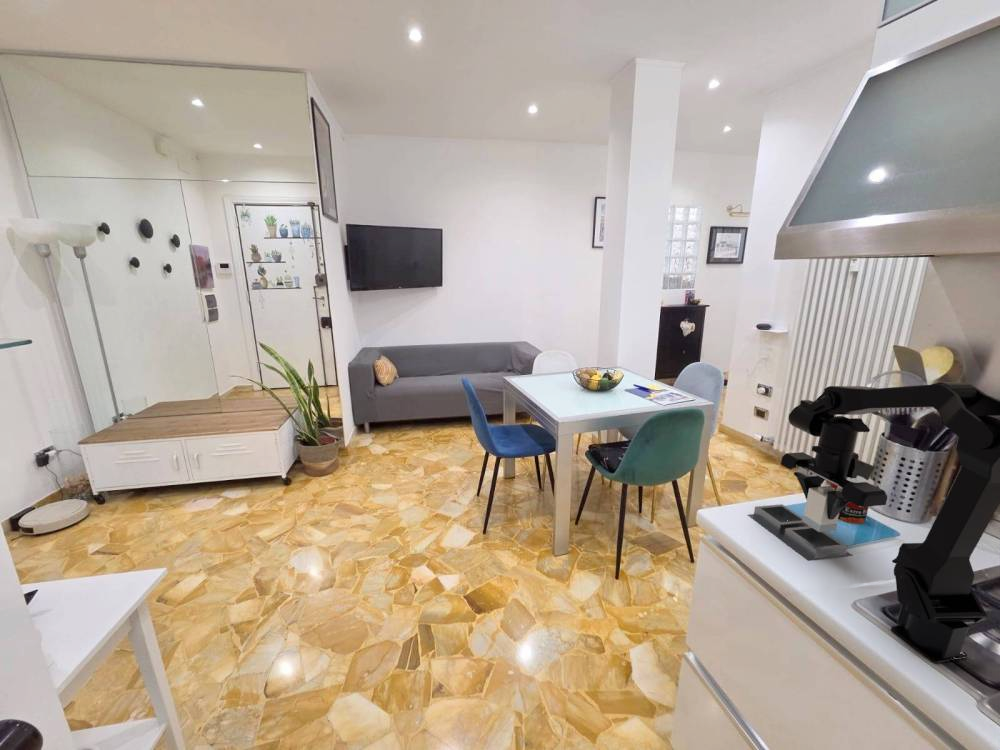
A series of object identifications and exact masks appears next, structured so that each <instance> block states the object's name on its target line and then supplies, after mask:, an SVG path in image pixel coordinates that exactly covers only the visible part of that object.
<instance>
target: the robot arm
mask: <svg viewBox="0 0 1000 750" xmlns="http://www.w3.org/2000/svg"><path fill="white" fill-rule="evenodd" d="M915 408H916V409H918V408H919V409H920V408H933V409H935V410H936V411H937V412H938V415H939V416H940V418H941V421H942V423H943V425H944V426H945V427H946V428H947V429H948V430H950V431H951V433H953V434H954V435H955V436H957V441H956V446H955V450H956V454H957V457H958V459H959V463H960V469H959V471H958V473H957V475H956V477H955V478H954V481H953V483H952V485H951V486H950V489H949V491H948V493H947V495H946V497H945V499H944V501H943V503H942V505H941V507H940V509H939V511H938V513H937V515H936V517H935V519H934V521H933V523H932V525H931V527H930V529H929V531H928V533H927V535H926V538H925V539H924V541H923V542H909V543H907V542H905V543H902V544H901V545H900V546H899V549H898V553H897V556H896V557H895V558H894V559H892V561H891V562H892V564H895V565H894V568H893V576H894V577H895V586H896V595H897V596H896V597H897V602H899V603H900V604H901V606H900V610H899V614H898V616H897V617H898V618H897V620H896V623H897V624H898V625H892V626H891V627H890V631H892V632H893V633H894V634H896V635H897V636H898V637H899V638H900V639H901V640H903V641H905V642H906V643H907V644H909V645H910V646H911V647H912V648H914V649H915V650H916V651H917V652H918V653H920V654H921V655H923V656H924V657H926V658H927V659H928V660H930V662H933V663H935V664H940V663H941V664H942V663H946V662H945V661H947V662H949V661H948V660H951V658H952V659H954V658H953V657H955V658H963V657H967V658H968V654H967V653H966V652H964V651H963V653H964V654H965V655H963V654H960V652H961V650H962V649H963V646H964V644H965V640H966V638H967V634H968V631H969V629H970V625H969V624H967V623H976V624H977V623H979V624H980V622H982V621H983V620H984V619H986V618H987V617H988V614H987V613H986V611H985V609H984V607H983V606H982V603H981V602H980V601H979V598H978V596H977V595H976V593H975V591H974V590H973V588H972V587H973V584H974V580H975V571H974V569H973V567H972V564H971V561H970V559H971V556H972V554H973V552H974V551H975V549H976V547H977V546H978V544H979V541H980V540H981V539H982V536H983V534H984V533H985V531H986V529H987V528H988V525H989V524H990V523H991V520H992V518H993V516H994V515H995V513H996V511H997V510H998V508H999V505H1000V399H997V398H995V397H993V396H990V395H989V394H986V393H985V392H984V391H982V390H980V389H979V388H977V387H976V386H974V385H972V384H969V383H968V382H962V381H961V382H953V381H952V382H951V381H949V382H948V381H947V382H946V381H945V382H942V381H940V382H935V383H932V384H921V385H920V384H919V385H907V386H906V385H904V386H894V387H881V388H880V387H879V388H876V387H871V386H870V387H869V386H862V385H845V386H844V385H843V386H842V385H833V386H832V385H829V386H827V387H825V388H823V391H822V393H821V395H819V396H818V397H817V398H816V399H815V400H814V401H812V400H810V399H801V400H800V401H799V404H798V405H797V406H795V407H794V408H793V409H792V410H791V412H790V413H789V414H788V421H789V424H790V425H791V426H792V427H794V428H796V429H798V430H801V431H802V432H804V433H807V434H809V435H811V436H812V437H816V438H818V443H817V445H812V446H811V452H814V453H815V456H812V455H810V454H808V453H806V452H803V451H802V452H788V453H787V452H786V453H784V454H783V455H782V457H781V460H780V465H781V466H782V467H785V468H786V469H788V470H794V469H796V468H797V471H795V472H793V476H795V477H796V479H797V481H798V483H799V485H800V487H801V490H802V492H803V495H804V498H805V500H806V501H807V496H808V491H809V488H816V487H822V484H823V483H824V482H825V481H827V482H829V483H830V484H831V483H833V484H835V485H837V486H838V487H837V489H836V491H828V492H827V516H828V519H830V520H831V519H834V518H835V517H836V516H837V515H838V514H839V512H840V511H841V510H842V509H843V508H844V507H845V506H846V505H847V504H848V503H849V502H852V503H854V504H856V505H857V506H861V507H868V506H869V507H878V506H886V504H887V502H888V501H887V500H888V493H886V491H885V490H884V489H882V488H880V487H878V486H876V485H875V484H874V485H871V484H869V483H867V482H860V483H854V482H851V481H848V480H847V478H849V477H850V478H857V476H860V477H863V478H865V479H866V480H869V478H870V479H871V476H872V474H873V472H875V469H876V466H875V465H872V464H870V463H867V462H865V461H864V460H861V459H859V453H856V452H855V447H856V446H855V445H856V443H857V438H858V433H869V432H870V431H871V429H870V428H869V426H868V425H867V424H865V422H864V421H863V419H862V418H861V417H860V418H859V417H858V418H852V417H851V418H849V417H846V416H847V415H848V416H849V415H850V416H851V415H853V416H854V415H855V416H857V415H858V416H859V415H861V416H862V415H868V414H871V413H876V412H879V411H881V410H885V409H915ZM836 415H837V416H836ZM843 415H845V416H843Z"/></svg>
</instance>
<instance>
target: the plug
mask: <svg viewBox="0 0 1000 750" xmlns="http://www.w3.org/2000/svg"><path fill="white" fill-rule="evenodd" d="M828 491H835V488H833V487H831V486H830V485H825V486H824V485H823V486H821V487H816V488H809V491H808V496H807V500H806V501H805V507H804V511H803V515H802V521H803V522H804V523H806V524H807V525H808V526H810V527H812V528H813V529H815V530H816V531H818V532H833V531H836V530H837V526H838V520H839V519H838V516H839V514H838V515H837V516H836V517H835V518H834V519H831V520H830V519H828V516H827V492H828Z"/></svg>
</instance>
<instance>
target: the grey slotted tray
mask: <svg viewBox="0 0 1000 750" xmlns="http://www.w3.org/2000/svg"><path fill="white" fill-rule="evenodd" d="M747 517H749V518H751V520H753V521H754V522H755V523H757V524H759V525H760V526H761V527H763V528H764V529H765V530H766V531H767V532H769V533H770V534H772V535H773V536H774V537H776V538H777V539H778V540H780V541H781V542H782V543H784V544H785V545H786V546H788V547H789V548H790V549H791V550H793V551H794V552H796V554H798V555H800V556H801V557H802V558H804V559H805V560H807V562H812V561H818V560H828V559H829V560H830V559H836V558H844V557H845V558H847V557H853V554H852V553H850V552H848V551H847V550H848V546H847V545H846V544H844V543H842V542H841V541H839V540H838V539H837V538H835V537H834V536H831V535H830V534H828V533H827V531H825V532H818V531H816V530H815V529H813V528H812V527H810V526H809V525H807V524H806V523H804V522H803V521H802V518H803V516H802V515H799V514H798V513H796V512H795V511H793V510H791V509H790V508H788V507H787V506H786V505H784V504H782V503H781V504H771V505H770V504H769V505H761V506H754V511H753V514H750V513H749V514H747ZM787 520H788V521H787Z"/></svg>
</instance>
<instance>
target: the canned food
mask: <svg viewBox="0 0 1000 750" xmlns="http://www.w3.org/2000/svg"><path fill="white" fill-rule="evenodd" d="M847 480H848V481H851V482H854V483H860V482H867V483H869V484H871V485H874V486H875V482H874V480H873V479H871V477H870V478H869V480H866V479H865V478H863V477H860V476H857V478H850V477H849V478H847ZM829 486H831V487H833V488H835V491H836V489H837V487H838V486H837V485H835V484H833V483H831V482H830V485H829ZM869 507H870V506H868V507H861V506H857V505H856V504H854V503H852V502H849V503H848V504H847V505H846V506H845V507H844V508H843V509H842V510H841V511H840V512H839V516H838V520H840V521H842V522H844V523H849V524H854V525H861V524H864V523H865V522H866V519H867V515H868V511H869Z"/></svg>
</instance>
